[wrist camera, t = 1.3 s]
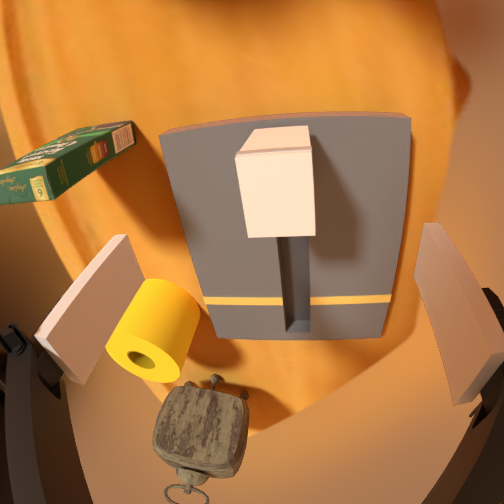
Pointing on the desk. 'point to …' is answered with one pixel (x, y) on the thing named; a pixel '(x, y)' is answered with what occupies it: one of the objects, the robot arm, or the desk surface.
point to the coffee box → (63, 162)
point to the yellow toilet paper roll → (155, 331)
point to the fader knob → (277, 182)
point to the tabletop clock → (201, 434)
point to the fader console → (296, 247)
